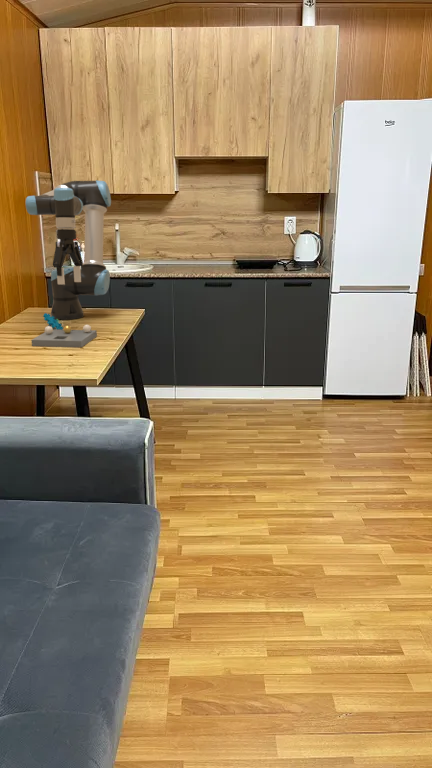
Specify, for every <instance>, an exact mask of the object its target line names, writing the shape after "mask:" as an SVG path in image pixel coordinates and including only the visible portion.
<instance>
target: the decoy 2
mask: <svg viewBox="0 0 432 768" xmlns="http://www.w3.org/2000/svg"><path fill="white" fill-rule="evenodd" d="M82 330H84V332H86V333H88V332H90V331H91V330H92V326H91V325H89V324H84V325H83V327H82Z"/></svg>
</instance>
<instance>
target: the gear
mask: <svg viewBox="0 0 432 768" xmlns="http://www.w3.org/2000/svg"><path fill="white" fill-rule="evenodd" d="M42 317H43V318H44V319H43V320H44V321H46V323H47V324H48V325H47V326H50V327H52V328H53V329H56V330H63V328H64V326H62V323H59V322H60V320H58V319H54V317H53V316H52V317H51V313H46V312H45V313H44V314H43V316H42Z"/></svg>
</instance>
